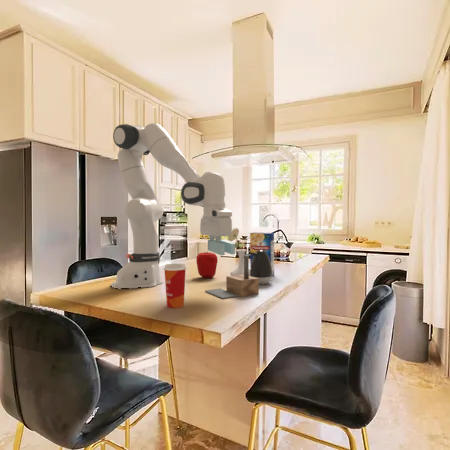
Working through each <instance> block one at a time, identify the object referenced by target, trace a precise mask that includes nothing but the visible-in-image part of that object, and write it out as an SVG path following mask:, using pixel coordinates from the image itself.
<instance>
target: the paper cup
mask: <svg viewBox="0 0 450 450" xmlns="http://www.w3.org/2000/svg"><path fill="white" fill-rule="evenodd" d="M186 270H187V267H186V264H185V263H167V264H165V265H164V267H163V271H164V283H165V294H166V307H167V308H169V307H170V308H169V309H178V308H183V307H184V304H185V289H186V287H185V285H186Z"/></svg>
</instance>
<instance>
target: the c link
mask: <svg viewBox="0 0 450 450" xmlns="http://www.w3.org/2000/svg"><path fill="white" fill-rule="evenodd" d="M215 240H216V239H214V240H209V239H208V240H207V251H209V252H210V253H214V254H216V255H219V256H225V254H230V255H235V254H236V248H235V244H236V243H234V242H230V241H228V240H224V239H221V241H220V243H219V242H216V241H215Z"/></svg>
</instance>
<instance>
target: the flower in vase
mask: <svg viewBox="0 0 450 450" xmlns="http://www.w3.org/2000/svg"><path fill="white" fill-rule="evenodd" d="M239 233H240V229H239V228H238V227H236V228H232V233H231V235H230V236H227V238H228V239H227V241H228V242H231V243H233V241H235V240H236V242H237V243H234V244H235V249H236V253H237V254H238V261H239V262H238V265H237V266H236V267H235V268H233V269H232V270H231V271H230V272H229V273H230V275H229V276H233V275H241V274H243V275H244V255H245V253H246V252H247V249H241V248H243V247H245V242H244V241H243V242H242V243H239V240H238V236H239ZM237 247H238V248H239V249H237ZM249 276H250V269H249Z"/></svg>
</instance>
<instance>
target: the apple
mask: <svg viewBox="0 0 450 450" xmlns="http://www.w3.org/2000/svg"><path fill="white" fill-rule="evenodd" d="M195 261H196V266H197V268H196V269H197V271H198V275H199V276H200V277H201V278H203V279H210V278H214V277H215V275H216V272H217V267H218V256H217V253H214V252H208V251H206V252H200V253H198V254H197V256H196V260H195Z"/></svg>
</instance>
